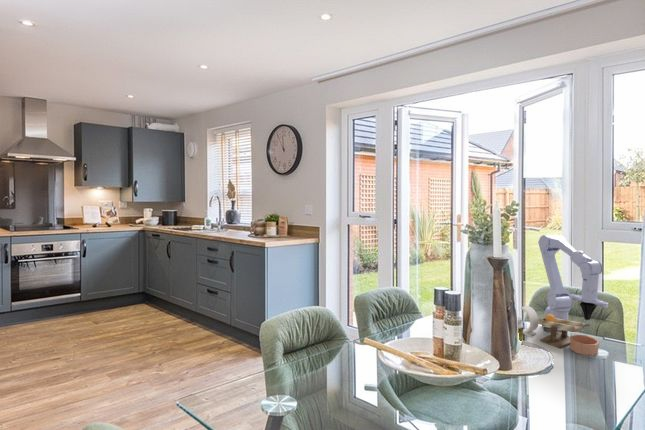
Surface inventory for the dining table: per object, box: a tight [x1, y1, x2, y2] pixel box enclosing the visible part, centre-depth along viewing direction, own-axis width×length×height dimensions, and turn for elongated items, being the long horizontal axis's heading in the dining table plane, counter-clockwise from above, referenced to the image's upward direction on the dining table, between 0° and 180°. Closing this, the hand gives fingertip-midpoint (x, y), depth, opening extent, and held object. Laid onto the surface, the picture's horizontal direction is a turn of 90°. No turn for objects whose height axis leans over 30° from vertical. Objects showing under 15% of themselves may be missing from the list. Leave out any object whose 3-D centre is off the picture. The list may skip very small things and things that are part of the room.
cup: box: [569, 334, 600, 356], centre depth 184 cm, size 10×10×4 cm
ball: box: [545, 314, 555, 322], centre depth 195 cm, size 4×4×4 cm
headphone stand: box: [520, 305, 540, 337], centre depth 200 cm, size 5×6×12 cm
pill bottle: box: [517, 316, 524, 342], centre depth 191 cm, size 6×6×11 cm
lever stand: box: [540, 326, 570, 349], centre depth 192 cm, size 9×13×8 cm
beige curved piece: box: [538, 317, 591, 334], centre depth 193 cm, size 16×12×6 cm
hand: (587, 319), depth 190 cm, fingers closed
